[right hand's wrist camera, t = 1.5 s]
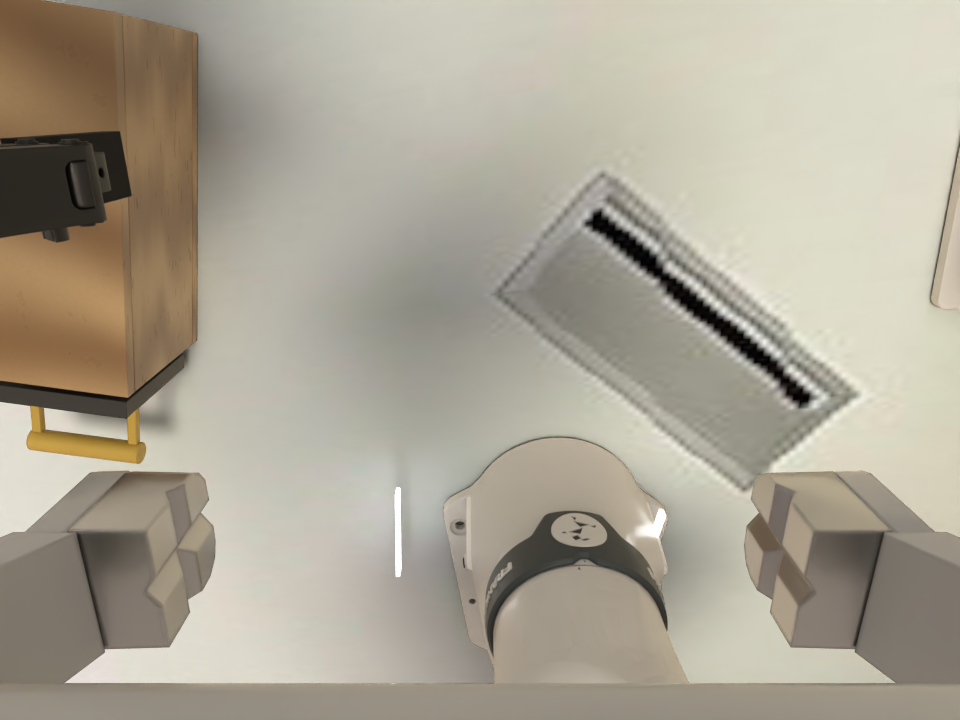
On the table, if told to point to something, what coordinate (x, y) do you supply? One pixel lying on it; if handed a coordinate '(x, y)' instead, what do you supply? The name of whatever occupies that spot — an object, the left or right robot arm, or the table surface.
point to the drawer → (88, 404)
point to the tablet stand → (949, 253)
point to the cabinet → (130, 221)
